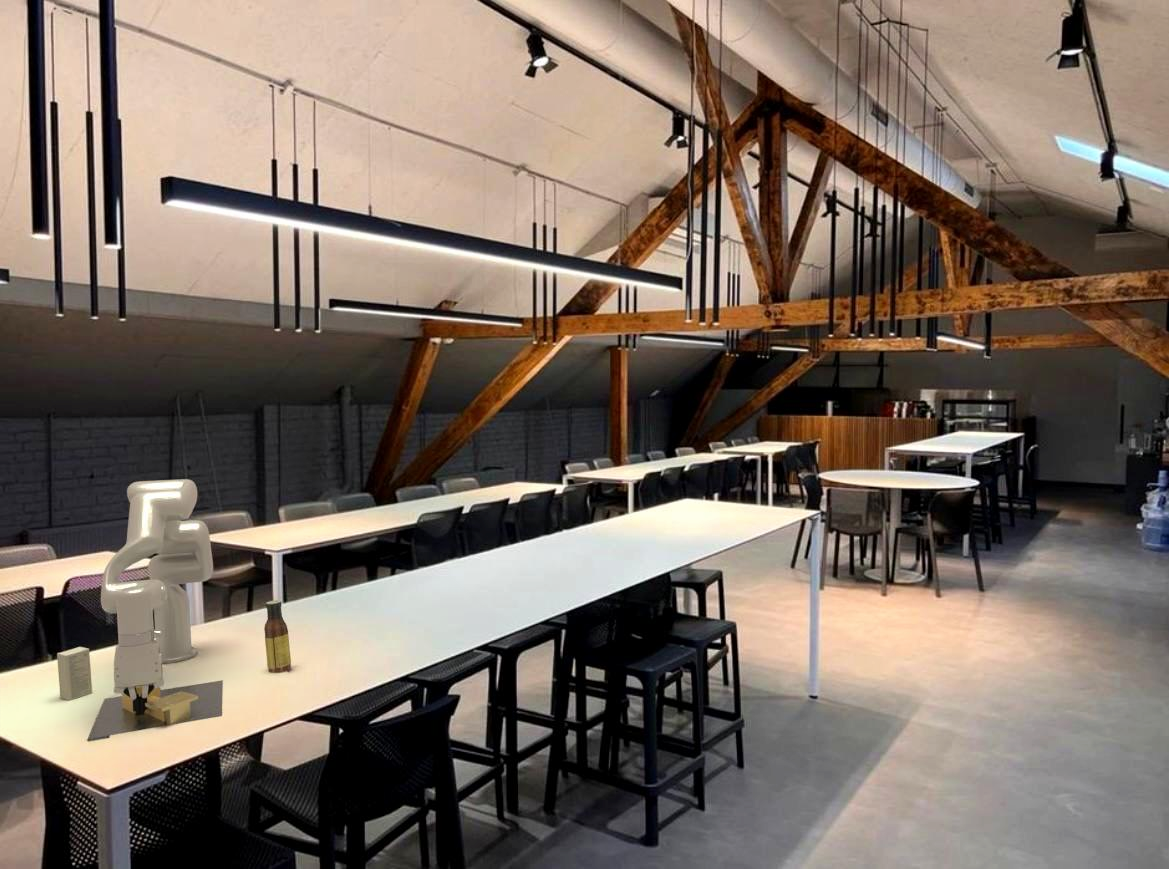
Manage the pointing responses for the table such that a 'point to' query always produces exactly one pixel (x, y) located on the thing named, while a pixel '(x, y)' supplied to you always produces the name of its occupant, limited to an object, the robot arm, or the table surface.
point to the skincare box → (74, 673)
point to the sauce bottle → (276, 639)
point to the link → (151, 697)
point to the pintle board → (134, 723)
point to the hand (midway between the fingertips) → (140, 713)
